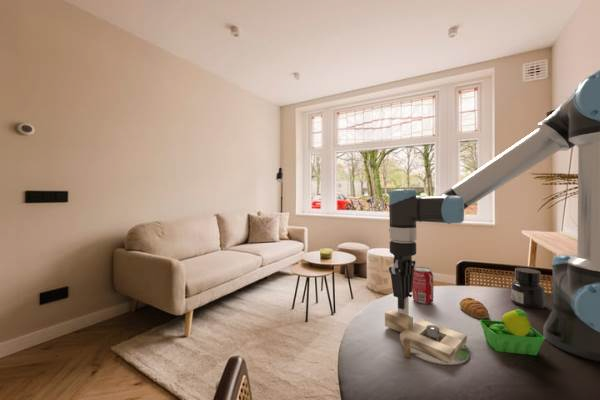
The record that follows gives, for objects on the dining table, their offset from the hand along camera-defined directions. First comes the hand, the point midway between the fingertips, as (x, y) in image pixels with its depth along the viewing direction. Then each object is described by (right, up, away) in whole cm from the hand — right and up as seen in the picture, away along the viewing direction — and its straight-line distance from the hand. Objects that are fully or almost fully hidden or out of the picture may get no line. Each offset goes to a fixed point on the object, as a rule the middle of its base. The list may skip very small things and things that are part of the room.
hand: (403, 318), depth 79 cm
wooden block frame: (+1, -1, -8) cm, 9 cm away
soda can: (+14, -2, +17) cm, 22 cm away
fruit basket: (+23, -2, -13) cm, 26 cm away
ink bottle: (+49, -1, +13) cm, 51 cm away
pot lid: (+4, -2, -11) cm, 12 cm away
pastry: (+27, -2, +8) cm, 28 cm away
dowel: (-5, -3, -15) cm, 16 cm away
